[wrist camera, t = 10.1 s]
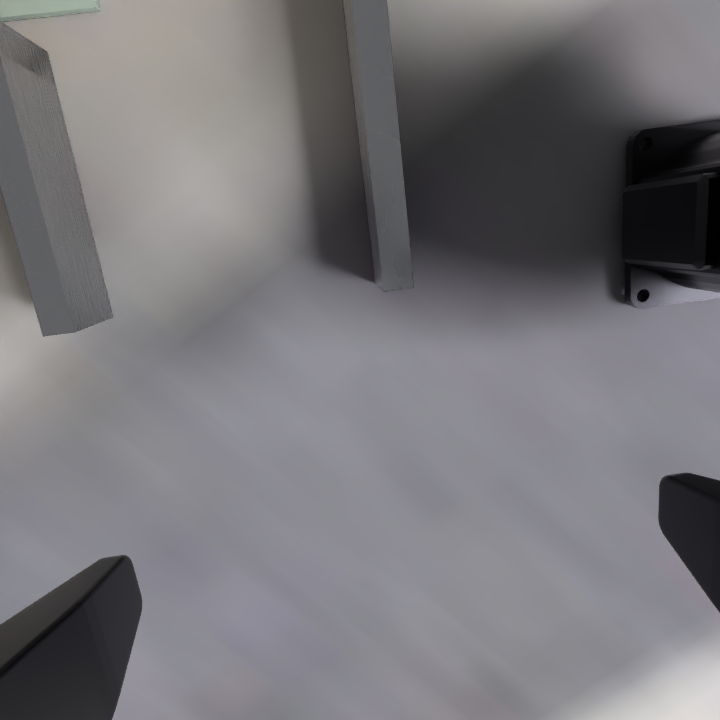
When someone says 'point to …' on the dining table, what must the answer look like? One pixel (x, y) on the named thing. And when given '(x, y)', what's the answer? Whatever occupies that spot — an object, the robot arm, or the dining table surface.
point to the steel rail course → (65, 199)
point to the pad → (44, 8)
